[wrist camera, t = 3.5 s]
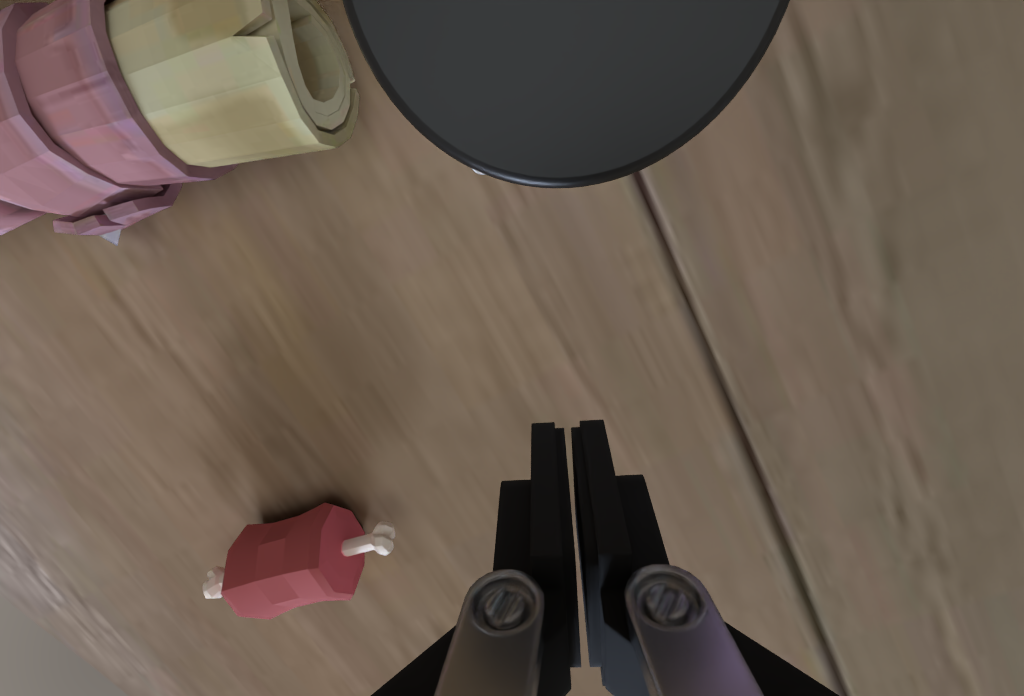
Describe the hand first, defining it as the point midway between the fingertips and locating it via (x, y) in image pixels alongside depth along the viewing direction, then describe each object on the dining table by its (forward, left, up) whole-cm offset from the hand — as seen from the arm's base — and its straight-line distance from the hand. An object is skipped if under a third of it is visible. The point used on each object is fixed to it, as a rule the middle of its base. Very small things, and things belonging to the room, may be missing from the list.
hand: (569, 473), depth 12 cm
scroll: (+17, -8, -13) cm, 23 cm away
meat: (+15, +14, -13) cm, 24 cm away
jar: (0, -10, -13) cm, 17 cm away
